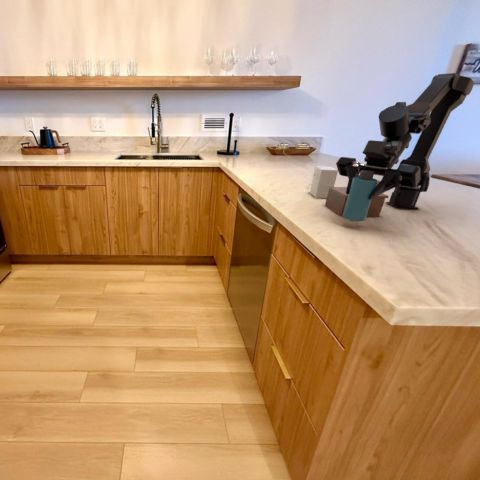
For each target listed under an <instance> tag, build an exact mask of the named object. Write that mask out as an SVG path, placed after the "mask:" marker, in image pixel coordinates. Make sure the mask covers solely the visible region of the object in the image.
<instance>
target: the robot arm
mask: <svg viewBox="0 0 480 480" xmlns="http://www.w3.org/2000/svg"><path fill="white" fill-rule="evenodd" d="M474 86H475V82H474V80H473V78H471V77H468V76H463V75H460V73H456V72H452V73H450V72H449V73H439V74H436V75H434V76H433V77H432V79H431V81H430V83H429V85H428V86H427V87H426V88H425V89H424V90H423V91H422V92H421V94H419V96H418V97H417V98H416V99H415V100H414V101H413V102H412V103H410V104H408V105H407V102H406V101H396V103H395V104H394V105H390V106H388V107H386V108H384V109H383V110H381V111H380V112H379V114H378V122H379V123H378V124H379V130H380V131H379V132H380V136H382V137H384V138H383V139H382V140H374V139H373V140H372V139H371V140H367V142H366V144H365V146H364V148H363V150H362V154H363V155H364V156H365V157H364V158H363V159H364V163H360V162H359V161H357V158H355V157H348V156H340V157H339V158H338V159H337V161H336V162H335V166H336V168H337V169H336V170H338V172H337V173H338V175H339V176H341V177H346V178H347V179H348V180H347V186H346V187H347V190H346V194H347V195H348V194H349V191H350V188H351V184H352V180H353V178H354V177H359V175H360V172H361V170H368V171H374V175H375V176H380V177H382V178H381V180H379V181H380V182H379V184H378V185H377V186H376V187H375V189H374V190H373V191H372V193H371V194H370V196H369V199H370V200H371V199H373V198H375V197H377V196H378V195H380V194H385V193H386V192H388V191H390V190H393V189H394V190H393V191H392V192H391V195H390V198H389V200H388V201H386V202H385V204H387V205H389V206H392V207H394V208H396V209H398V210H399V209H400V210H419V207H418V206H416V205H417V202H418V200H419V197H420V194H421V193H427V192H428V189H429V186H430V181H431V177H430V176H431V175H430V171H431V165H430V161H429V159H430V157H431V154H432V153H433V150H434V148H435V146H436V144H437V142H438V140H439V138H440V136H441V134H442V131H443V130H444V128H445V125H446V123H447V121H448V120H449V117H450V115H451V113H452V112H453V111H454V110H456V109H457V108H458V107H459V106H461V105H462V104H463V103H464V101H465V100H466V98H467V96H469V95H470V94H471V93H472V91H473V89H474ZM412 134H414V135H415V134H416V135H419V134H420V135H419V136H418V139H417V141H416V143H415V146H414V147H413V149H412V151H411V154H410V155H409V156H408V157H407V158H406V159H405V158H403V159H402V160H401V161H400V159H399V158H400V157H401V156H402V155H403V153H404V151H405V150H406V149H409V146H410V142H412V139H413V137H412ZM398 163H399V165H398ZM395 165H398V166H397V168H393V167H394V166H395ZM374 175H373V176H374Z"/></svg>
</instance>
